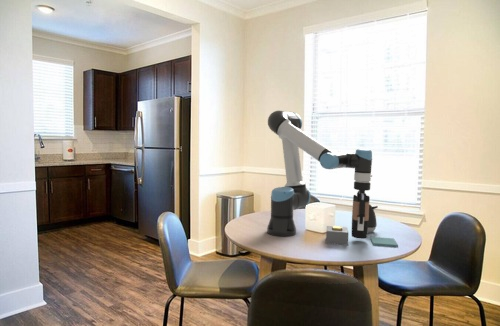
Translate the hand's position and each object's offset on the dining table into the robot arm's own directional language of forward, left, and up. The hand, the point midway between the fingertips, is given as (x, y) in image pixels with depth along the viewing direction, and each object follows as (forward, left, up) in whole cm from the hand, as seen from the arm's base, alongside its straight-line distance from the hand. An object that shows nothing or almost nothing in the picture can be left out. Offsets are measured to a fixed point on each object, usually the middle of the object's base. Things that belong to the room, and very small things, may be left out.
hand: (359, 228), depth 168 cm
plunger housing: (-11, -3, -7) cm, 13 cm away
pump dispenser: (+5, +20, -7) cm, 22 cm away
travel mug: (0, 0, -4) cm, 4 cm away
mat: (+11, +1, -7) cm, 13 cm away
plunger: (-11, -3, -6) cm, 12 cm away
